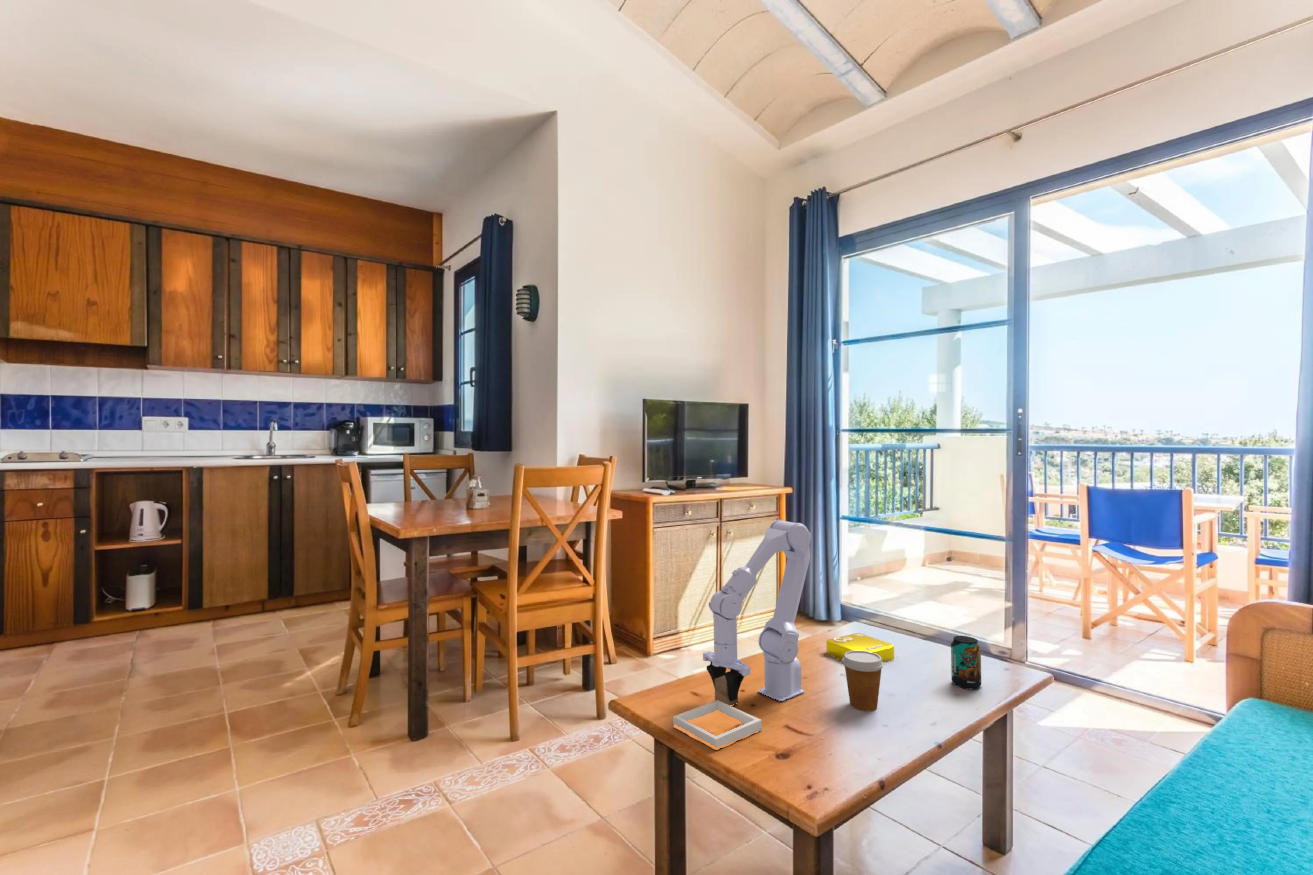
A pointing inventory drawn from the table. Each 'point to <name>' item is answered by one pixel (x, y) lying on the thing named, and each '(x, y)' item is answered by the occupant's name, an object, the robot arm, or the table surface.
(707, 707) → the white tray
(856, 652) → the disposable coffee cup
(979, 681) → the beverage can
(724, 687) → the brown rectangular block
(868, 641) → the yellow printed box
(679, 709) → the table surface
